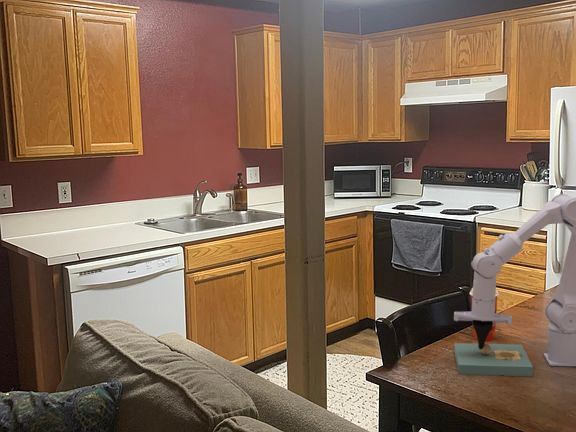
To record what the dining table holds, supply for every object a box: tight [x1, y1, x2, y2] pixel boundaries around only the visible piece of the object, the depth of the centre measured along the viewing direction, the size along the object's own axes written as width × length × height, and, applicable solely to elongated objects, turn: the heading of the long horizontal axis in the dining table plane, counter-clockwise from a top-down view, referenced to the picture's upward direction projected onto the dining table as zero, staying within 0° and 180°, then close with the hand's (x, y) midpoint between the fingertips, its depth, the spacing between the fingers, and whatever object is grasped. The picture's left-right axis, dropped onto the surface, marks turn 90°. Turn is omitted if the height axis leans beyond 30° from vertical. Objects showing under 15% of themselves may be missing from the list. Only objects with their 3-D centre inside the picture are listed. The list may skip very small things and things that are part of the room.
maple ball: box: [480, 343, 491, 355], centre depth 164 cm, size 3×3×3 cm
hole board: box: [453, 342, 534, 377], centre depth 164 cm, size 18×16×2 cm
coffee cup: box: [469, 287, 500, 342], centre depth 182 cm, size 8×8×15 cm
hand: (480, 347), depth 164 cm, fingers closed, pressing on maple ball
